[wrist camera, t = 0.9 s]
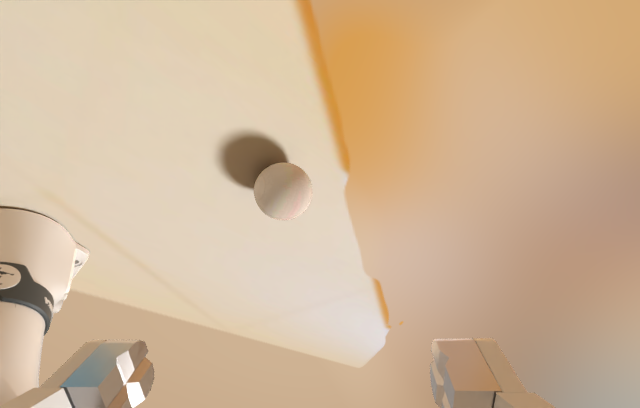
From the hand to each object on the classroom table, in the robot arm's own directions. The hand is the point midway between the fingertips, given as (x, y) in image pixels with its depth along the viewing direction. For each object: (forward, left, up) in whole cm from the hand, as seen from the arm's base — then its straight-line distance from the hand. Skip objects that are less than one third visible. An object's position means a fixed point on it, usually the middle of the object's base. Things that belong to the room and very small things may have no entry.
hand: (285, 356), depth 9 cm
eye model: (-14, -25, -43) cm, 51 cm away
